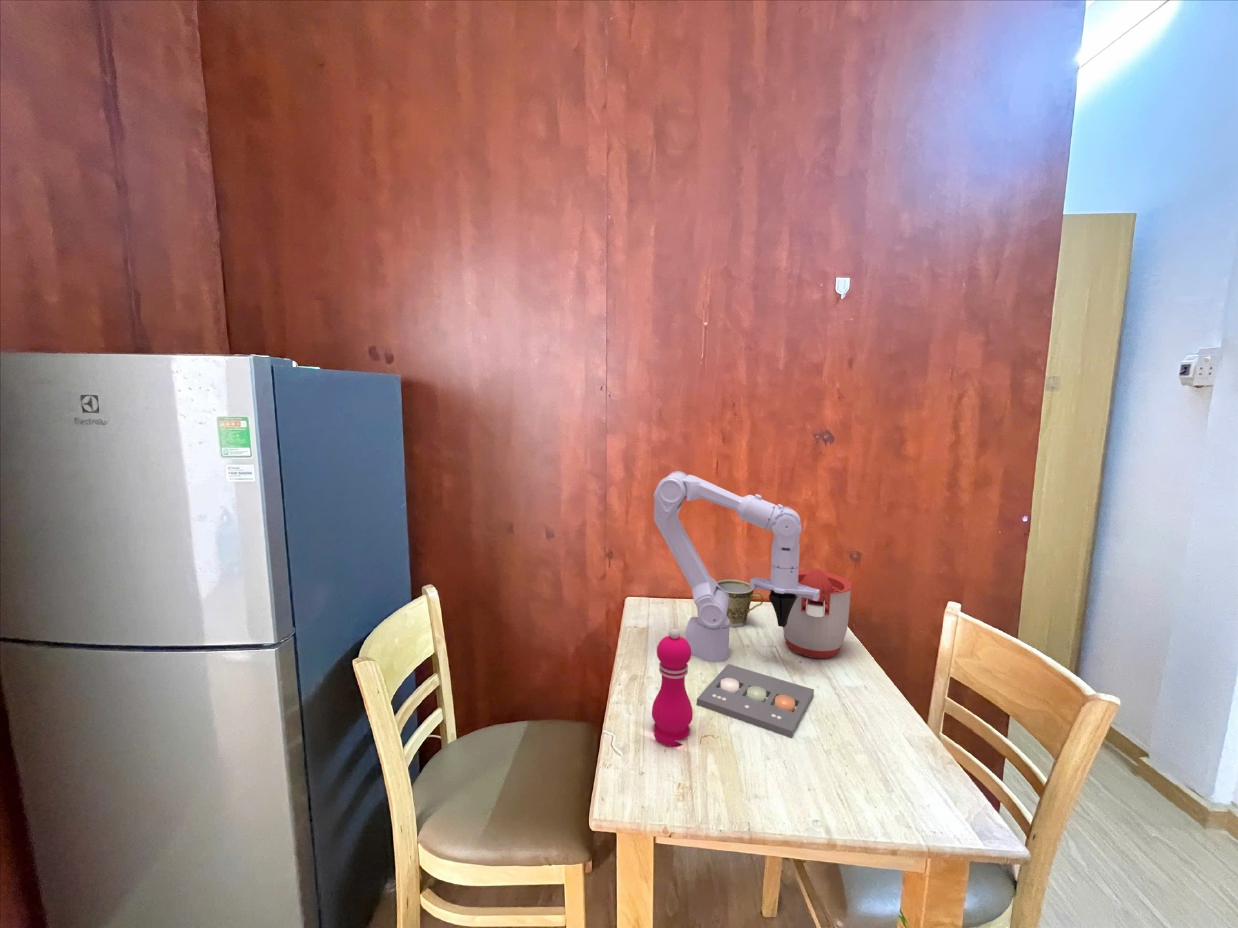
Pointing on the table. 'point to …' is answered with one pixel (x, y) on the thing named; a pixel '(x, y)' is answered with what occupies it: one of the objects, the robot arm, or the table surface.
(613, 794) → the table surface
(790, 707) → the button terracotta
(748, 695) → the button green
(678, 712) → the pepper mill
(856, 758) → the table surface
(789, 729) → the button panel
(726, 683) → the button white
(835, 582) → the citrus juicer
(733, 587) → the ceramic cup
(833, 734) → the table surface
